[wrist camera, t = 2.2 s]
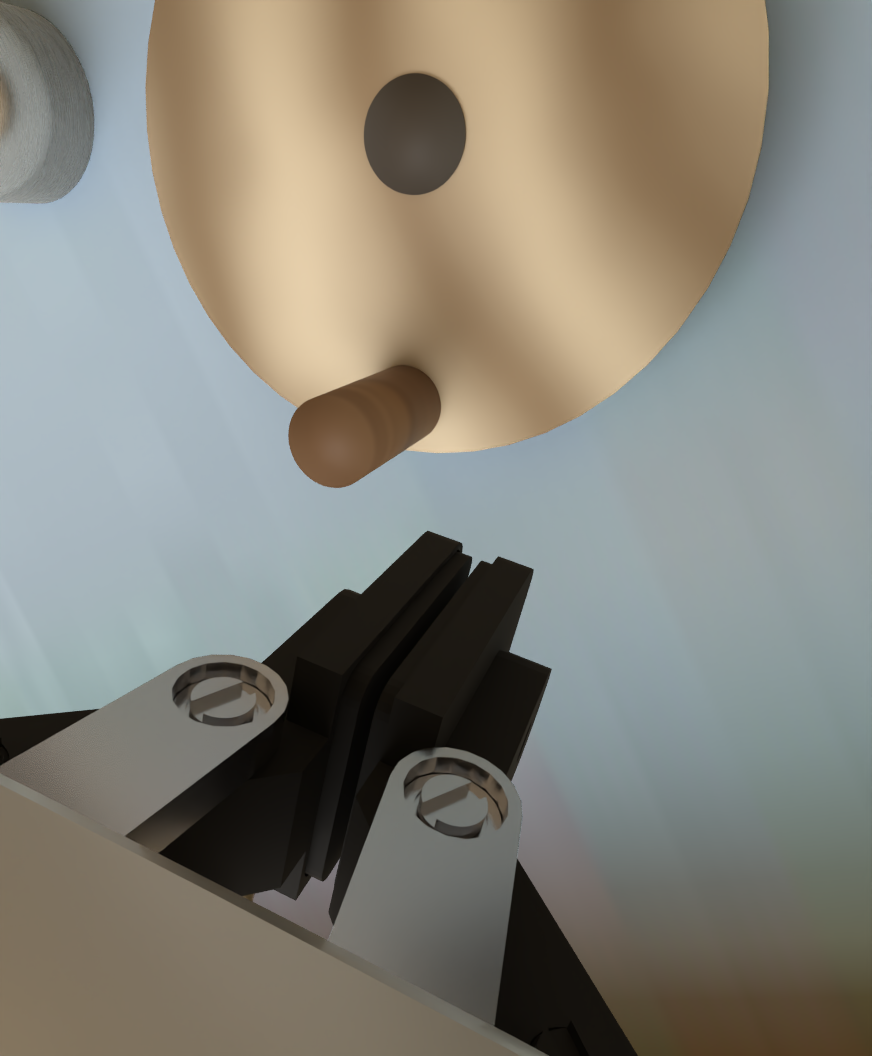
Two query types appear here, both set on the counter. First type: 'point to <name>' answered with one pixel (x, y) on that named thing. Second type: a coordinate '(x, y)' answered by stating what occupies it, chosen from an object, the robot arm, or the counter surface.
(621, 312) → the turntable
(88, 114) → the silver rounded piece
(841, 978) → the counter surface
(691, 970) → the counter surface
